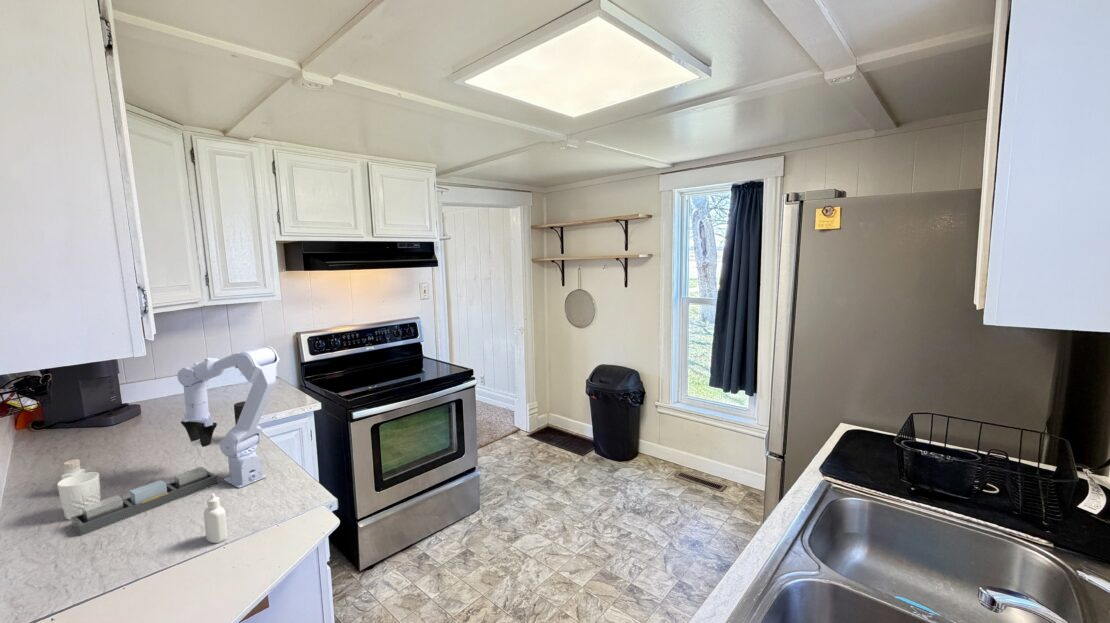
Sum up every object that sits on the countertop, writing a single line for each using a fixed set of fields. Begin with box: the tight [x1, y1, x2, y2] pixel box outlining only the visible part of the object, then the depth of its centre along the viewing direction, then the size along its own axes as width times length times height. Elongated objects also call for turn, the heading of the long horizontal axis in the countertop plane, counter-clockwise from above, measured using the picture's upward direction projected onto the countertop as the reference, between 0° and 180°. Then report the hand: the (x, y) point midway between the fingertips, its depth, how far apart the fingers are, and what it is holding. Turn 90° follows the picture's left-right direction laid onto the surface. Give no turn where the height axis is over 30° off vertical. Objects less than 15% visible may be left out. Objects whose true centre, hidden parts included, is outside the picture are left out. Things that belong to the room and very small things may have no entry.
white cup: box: [56, 471, 101, 521], centre depth 123 cm, size 8×8×10 cm
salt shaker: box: [60, 458, 86, 481], centre depth 134 cm, size 4×4×10 cm
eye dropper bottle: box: [203, 493, 228, 544], centre depth 113 cm, size 4×6×12 cm
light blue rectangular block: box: [129, 479, 167, 505], centre depth 128 cm, size 4×7×4 cm, turn 150°
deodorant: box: [233, 400, 246, 426], centre depth 170 cm, size 6×6×15 cm
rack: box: [70, 466, 219, 536], centre depth 128 cm, size 7×30×5 cm, turn 150°
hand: (200, 442), depth 145 cm, fingers open, 7 cm apart
